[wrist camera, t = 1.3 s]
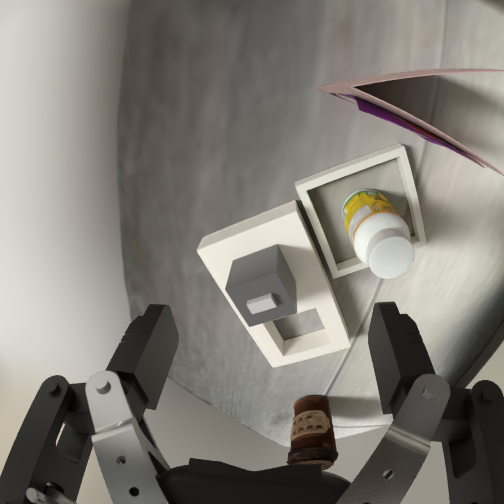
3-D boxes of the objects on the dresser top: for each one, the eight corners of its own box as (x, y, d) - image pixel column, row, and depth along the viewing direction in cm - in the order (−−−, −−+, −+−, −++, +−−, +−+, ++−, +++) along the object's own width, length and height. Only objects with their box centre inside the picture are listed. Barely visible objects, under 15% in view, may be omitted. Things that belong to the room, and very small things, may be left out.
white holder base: (295, 199, 31) (299, 238, 24) (347, 330, 39) (357, 380, 32) (202, 237, 34) (181, 282, 27) (273, 351, 43) (270, 400, 35)
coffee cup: (279, 398, 49) (275, 464, 38) (323, 385, 46) (327, 454, 35) (299, 418, 52) (299, 477, 41) (340, 407, 49) (345, 468, 38)
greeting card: (313, 96, 25) (344, 103, 13) (335, 29, 22) (385, -20, 9) (416, 141, 26) (504, 191, 13) (438, 79, 22) (538, 90, 10)
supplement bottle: (330, 213, 31) (346, 261, 23) (365, 177, 29) (396, 214, 21) (364, 242, 33) (387, 296, 24) (397, 209, 30) (432, 255, 22)
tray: (398, 143, 27) (404, 146, 25) (422, 238, 32) (426, 244, 30) (294, 181, 30) (295, 186, 29) (331, 271, 35) (333, 279, 34)
